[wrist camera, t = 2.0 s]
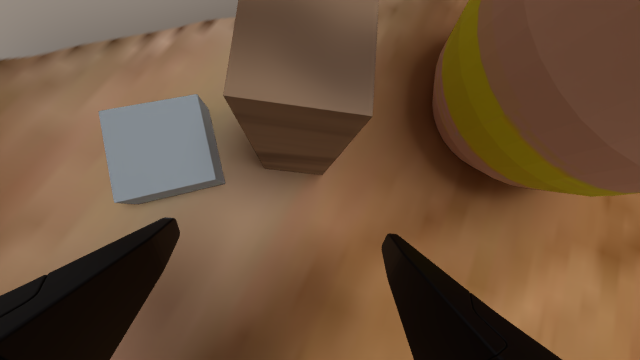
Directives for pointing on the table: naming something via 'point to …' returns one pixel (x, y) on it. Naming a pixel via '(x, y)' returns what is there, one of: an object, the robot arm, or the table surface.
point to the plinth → (160, 149)
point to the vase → (545, 93)
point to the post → (302, 78)
